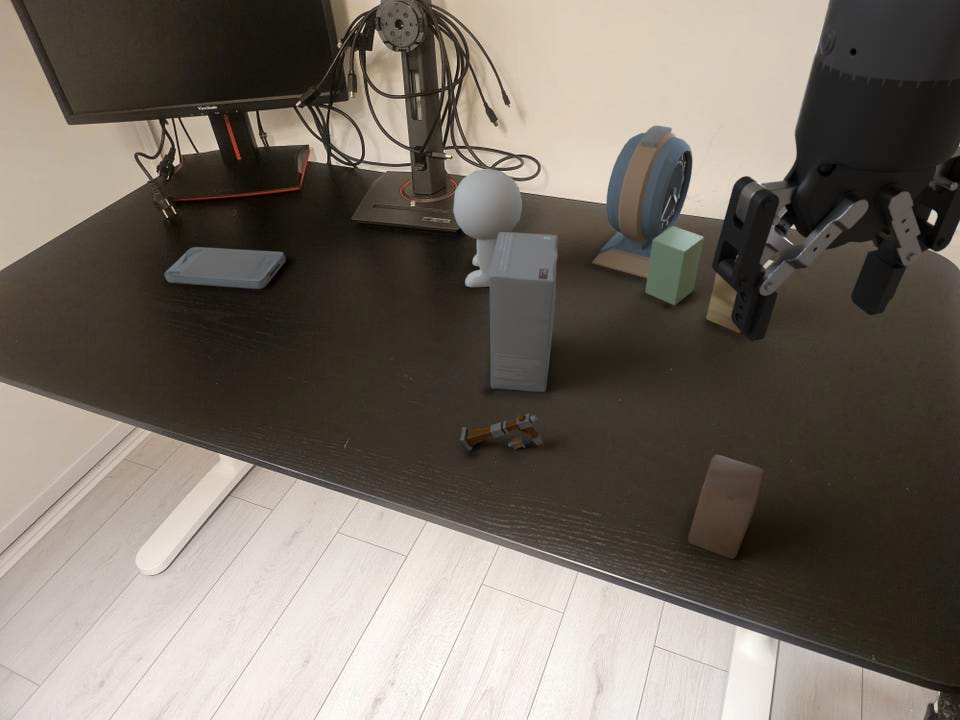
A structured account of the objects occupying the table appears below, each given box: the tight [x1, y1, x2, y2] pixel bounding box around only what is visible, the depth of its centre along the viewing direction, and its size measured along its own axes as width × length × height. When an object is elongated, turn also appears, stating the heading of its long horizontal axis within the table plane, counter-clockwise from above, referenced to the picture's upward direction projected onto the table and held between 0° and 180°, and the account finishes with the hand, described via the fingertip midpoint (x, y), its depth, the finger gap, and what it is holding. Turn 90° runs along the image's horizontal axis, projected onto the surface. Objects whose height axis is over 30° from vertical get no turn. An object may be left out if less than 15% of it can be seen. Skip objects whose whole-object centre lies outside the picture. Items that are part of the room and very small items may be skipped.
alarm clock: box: [591, 125, 694, 279], centre depth 83 cm, size 14×10×18 cm
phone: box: [163, 246, 287, 290], centre depth 91 cm, size 8×16×1 cm, turn 78°
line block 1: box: [644, 225, 705, 306], centre depth 78 cm, size 4×4×8 cm
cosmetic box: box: [489, 231, 559, 393], centre depth 66 cm, size 8×7×16 cm
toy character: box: [452, 168, 523, 288], centre depth 82 cm, size 9×9×15 cm
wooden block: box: [687, 454, 765, 560], centre depth 51 cm, size 4×4×8 cm
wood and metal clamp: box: [460, 412, 544, 452], centre depth 61 cm, size 2×8×4 cm, turn 84°
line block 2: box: [705, 255, 775, 334], centre depth 73 cm, size 4×4×8 cm
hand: (808, 320), depth 40 cm, fingers open, 8 cm apart
